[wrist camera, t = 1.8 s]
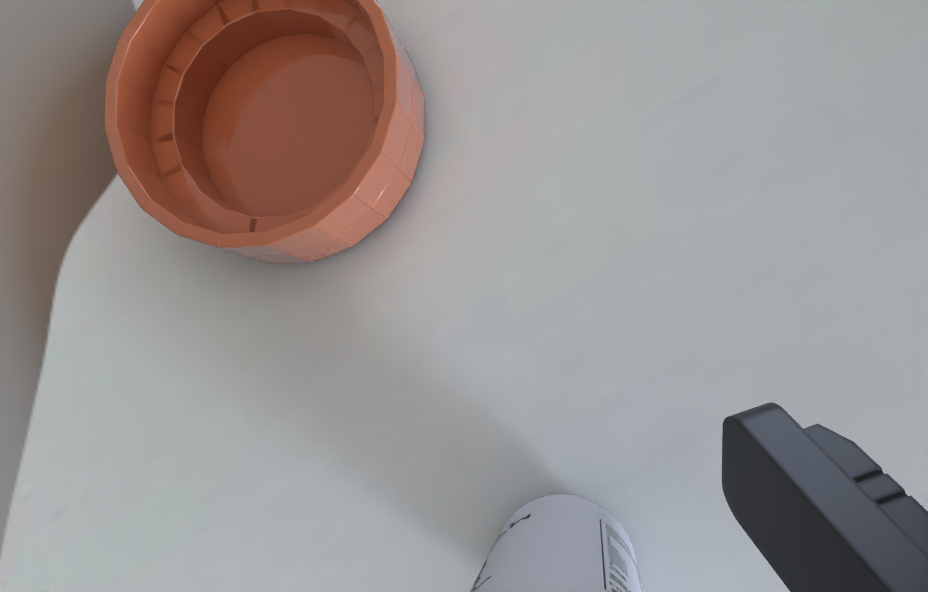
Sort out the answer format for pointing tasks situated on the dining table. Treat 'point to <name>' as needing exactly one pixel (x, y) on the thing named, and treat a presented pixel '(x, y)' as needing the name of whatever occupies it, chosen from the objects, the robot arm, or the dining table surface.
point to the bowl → (265, 122)
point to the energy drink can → (560, 550)
